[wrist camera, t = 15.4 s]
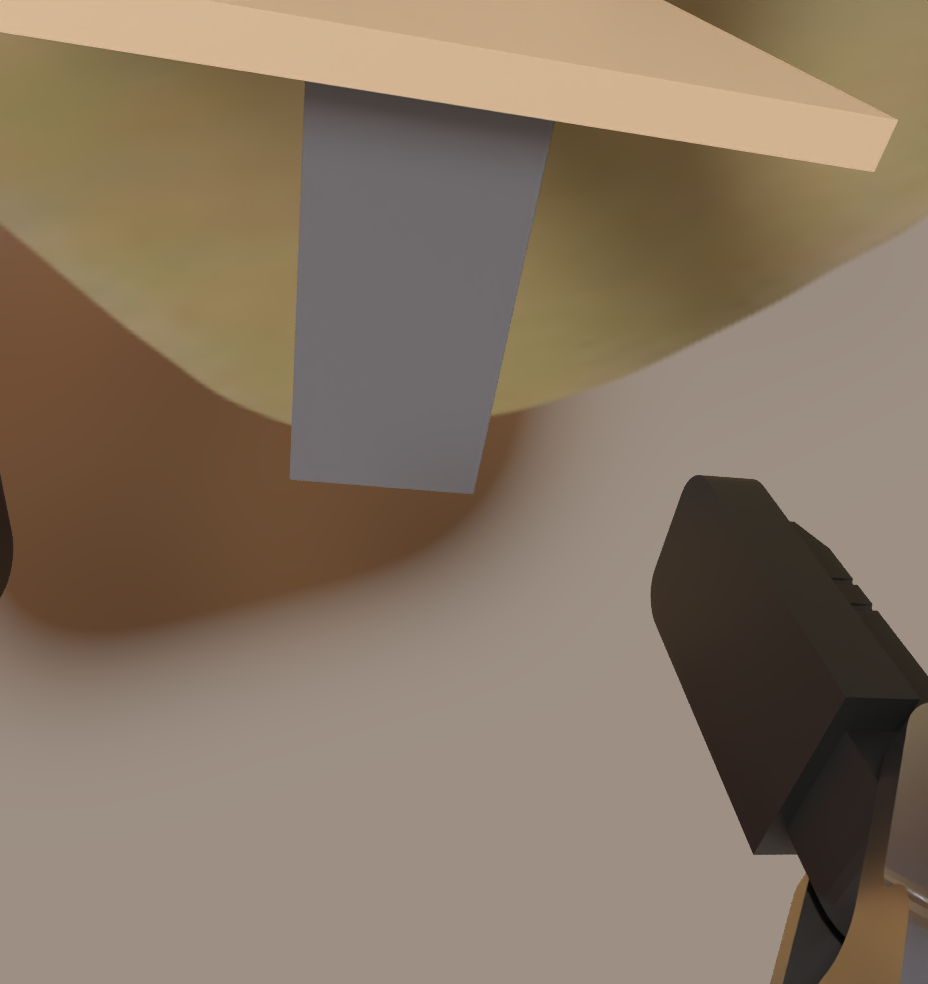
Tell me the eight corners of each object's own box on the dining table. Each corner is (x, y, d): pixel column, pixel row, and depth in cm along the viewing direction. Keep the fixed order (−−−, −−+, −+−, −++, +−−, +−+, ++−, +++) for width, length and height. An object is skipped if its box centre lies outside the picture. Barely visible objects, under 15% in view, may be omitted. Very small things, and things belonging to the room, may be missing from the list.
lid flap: (-111, -55, 10) (12, 485, 16) (898, 119, 13) (704, 537, 18) (187, -109, 26) (197, 170, 31) (612, -26, 28) (554, 219, 33)
